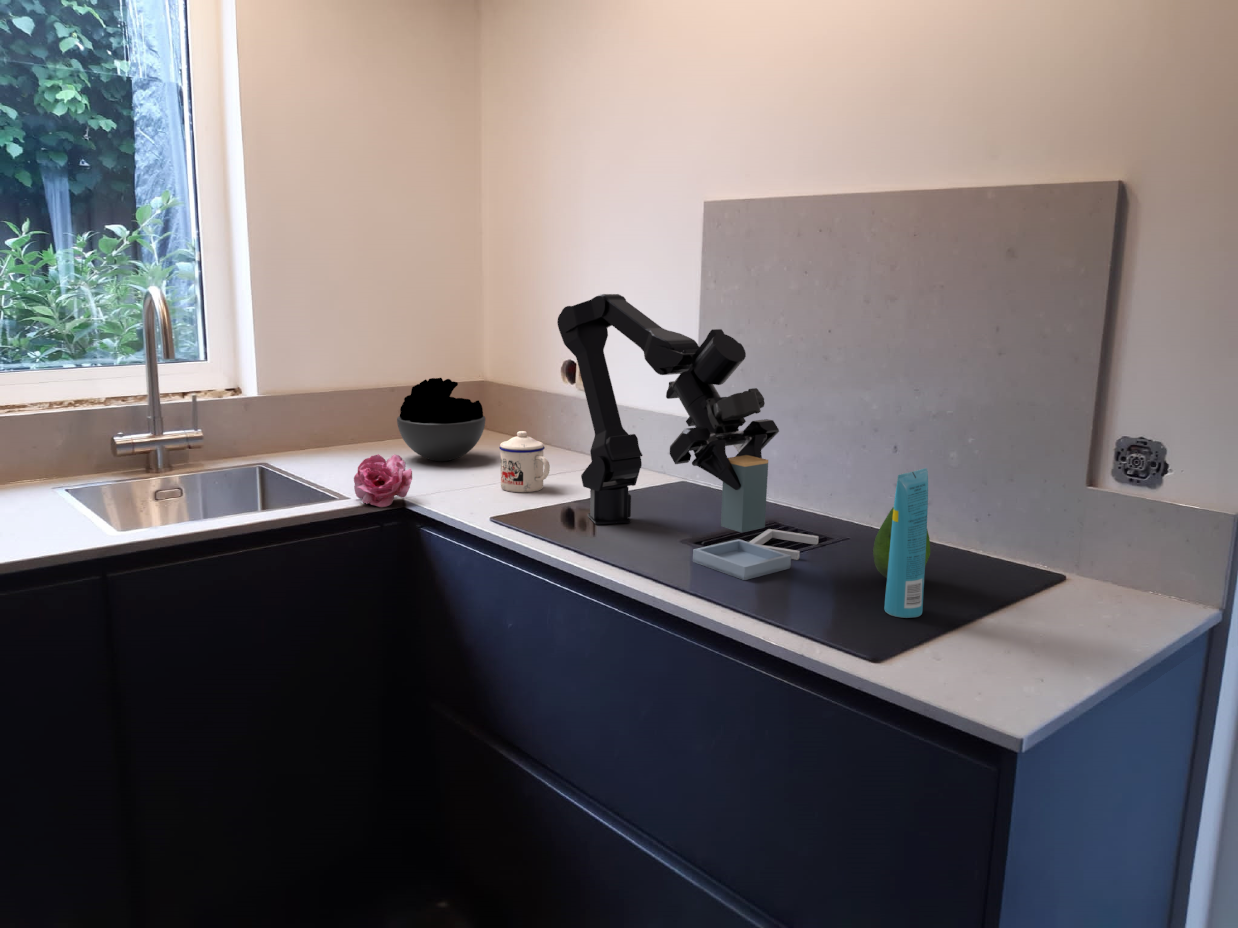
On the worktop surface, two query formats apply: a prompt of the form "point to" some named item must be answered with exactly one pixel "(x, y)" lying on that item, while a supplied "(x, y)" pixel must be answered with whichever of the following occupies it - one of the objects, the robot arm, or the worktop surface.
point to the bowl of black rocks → (440, 421)
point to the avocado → (883, 545)
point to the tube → (908, 546)
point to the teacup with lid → (523, 464)
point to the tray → (741, 559)
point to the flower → (382, 480)
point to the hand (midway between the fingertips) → (751, 486)
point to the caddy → (746, 495)
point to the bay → (785, 536)
